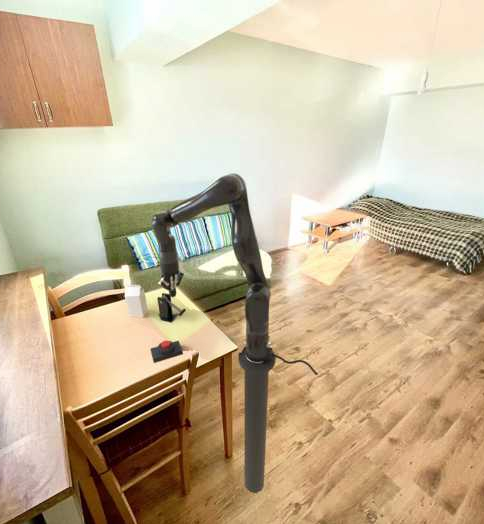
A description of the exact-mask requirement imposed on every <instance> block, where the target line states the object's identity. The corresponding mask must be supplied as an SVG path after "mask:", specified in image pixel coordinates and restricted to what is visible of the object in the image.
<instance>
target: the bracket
mask: <svg viewBox="0 0 484 524" xmlns="http://www.w3.org/2000/svg"><path fill="white" fill-rule="evenodd" d="M163 295H165V296H166V297H168V300H169V301H170V302H171V303H172V297H171V296H170V295H169V293H165V292H162V293H161V296H157V299H156V300H157V307H158V312H159V314H158V317H159V319H160V320H161V321H163V322H167V323H173V322H174V320H176V318H177V317H178V316H179V315H178V314H179V313H173V307H172V306H170V305H169V304H168V303H167V301H166V298H162V296H163Z"/></svg>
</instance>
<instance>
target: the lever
mask: <svg viewBox="0 0 484 524" xmlns="http://www.w3.org/2000/svg"><path fill="white" fill-rule="evenodd" d="M161 297H162V298H166V301H167V303H168V304H169V305H170V306H172V309H174V310H176V311H177V312H178V313H177V314H178V315H177V316H179V317H182V316H183V315H184V313H185V312H186V311H187V309H186V308H183V309H181V308H180V307H179V306H177V305H175V304H174V303H173V302H172V301H171V302H170V301H169V300H168V297H166V296H165V295H163V296H162V295H161Z"/></svg>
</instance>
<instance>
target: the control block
mask: <svg viewBox="0 0 484 524" xmlns="http://www.w3.org/2000/svg"><path fill="white" fill-rule="evenodd" d="M169 341H170V348H168V349H162V347H161V343H162V342H163V341H162V342H159V344H158V345H157V346H154V347H151V348H150V349H149V350H150V354H151V357H152V362H153V364H156V363H160V362H163V361H166V360H169V359H172V358H177V357H179V356H182V355H184V353H183V352H184V350H183V348H182V345H181V343H180V340H175V341H171V340H169Z"/></svg>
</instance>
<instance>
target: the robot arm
mask: <svg viewBox="0 0 484 524" xmlns="http://www.w3.org/2000/svg"><path fill="white" fill-rule="evenodd" d="M249 204H250V203H249V196H248V190H247V184H246V181H245V180H244V178H243V177H242V176H241V175H240V174H238V173H236V172H235V173H233V172H232V173H228V174H226V175H222V176H220V177H219V178H218V179H217V180H215V181H214V182H213V183H212V184H211V185H209V186H208V187H207V188H205V189H204V190H203V191H201V192H199V193H197V194H195V195H193V196H191V197H188V198H186V199H183V200H182V201H180V202H178V203H176V204H174V205H173V206H171V208H169V209H166V210H164V211H160V212H158V213H155V214H153V215H152V217H151V221H150V225H151V229H152V231H153V233H154V237H155V239H156V241H157V248H158V260H159V267H160V272H161V277H160V280H158V281H157V282H156V283H157V284H158V285H159V286H160V287H161V288H163V289H164V290H166V291H168V294H169V295H170V296H171V298H175V297H177V287H179V286H180V285H181V282H182V280H183V278H184V272H181V271H180V264H179V255H178V250H177V243H176V242H177V241H176V237H175V236H174V235H173V234H170V233H169V230H170V229H172V228H175V227H176V226H178V225H180V224H182V223H184V222H187V221H189V220H192V219H193V218H196V217H197V216H199V215H200V214H202V213H204V212H206V211H208V210H212V209H214V208H217V207H221V206H228V208H229V211H230V217H231V227H230V240H231V246H232V250H233V253H234V257H235V259H236V261H237V263H238V264H239V266H240V267H241V269H242V270H243V273H244V275H245V279H246V284H247V293H246V295H245V298H244V319H245V346H244V347H245V349H246V359H247V360H248V361H249V362H250V363H253V364H262V363H265V364H266V362H267V360H268V361H270V360H271V357H272V356H274V357H276V358H277V359H278V360H280V361H282V362H283V363H285V364H287V365H291V364H297V363H302V364H305V365H306V366H308V368H309V369H310V370H311V372H312V373H313V374H314V375H315V376H318V375H319V374H318V372H317V371H316V370H315V369H314V368H313V366H312V365H311V364H310V363H309V362H307V361H305V360H303V359H297V360H292V361H291V360H290V361H289V360H286V359H285V358H283V357H282V356H279V355H277V354H276V353H275V354H272V352H274V350H273V349H274V348H273V347H270V344H271V342H270V341H271V340H270V338H271V337H270V335H269V334H270V303H271V298H272V293H271V289H270V286H269V282H268V281H267V277H266V274H265V271H264V267H263V261H262V256H261V250H260V246H259V242H258V238H257V234H256V230H255V225H254V223H253V218H252V215H251V209H250V205H249Z"/></svg>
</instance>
